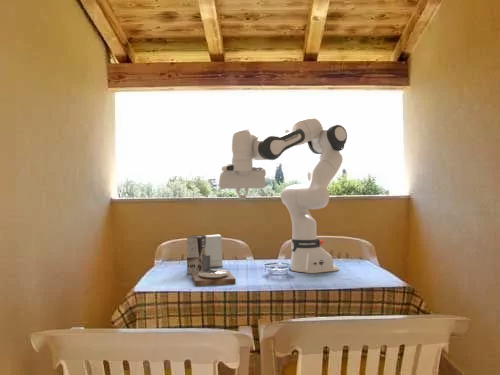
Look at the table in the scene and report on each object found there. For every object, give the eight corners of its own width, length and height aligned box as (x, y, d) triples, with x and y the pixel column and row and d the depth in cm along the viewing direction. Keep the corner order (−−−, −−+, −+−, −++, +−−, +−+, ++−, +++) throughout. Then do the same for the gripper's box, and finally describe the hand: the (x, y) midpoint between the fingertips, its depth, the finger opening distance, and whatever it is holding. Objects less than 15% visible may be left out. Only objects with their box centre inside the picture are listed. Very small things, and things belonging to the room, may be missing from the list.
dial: (233, 275, 185) (233, 255, 185) (212, 280, 177) (212, 259, 176) (214, 271, 193) (214, 252, 193) (192, 275, 185) (192, 256, 184)
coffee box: (200, 274, 197) (200, 237, 197) (186, 273, 199) (186, 237, 198) (206, 270, 206) (206, 235, 206) (193, 269, 208) (192, 234, 207)
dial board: (229, 275, 195) (229, 270, 195) (235, 283, 180) (235, 278, 180) (192, 277, 191) (192, 272, 191) (195, 285, 177) (195, 280, 176)
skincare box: (220, 264, 220) (220, 234, 220) (222, 266, 214) (222, 235, 214) (203, 265, 218) (203, 234, 218) (205, 267, 212) (204, 236, 212)
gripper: (263, 167, 200) (263, 198, 200) (218, 167, 196) (218, 199, 196) (267, 167, 194) (267, 199, 194) (220, 167, 190) (220, 199, 190)
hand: (242, 199), depth 195 cm, fingers closed
